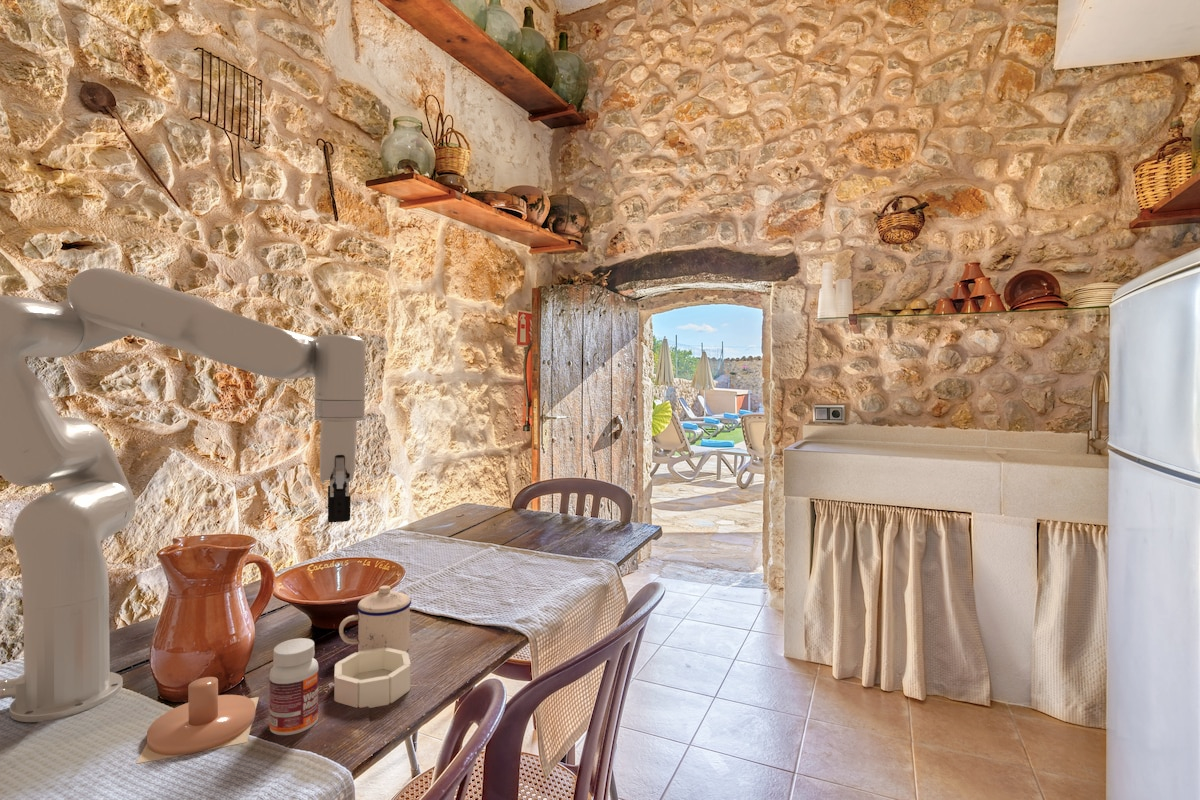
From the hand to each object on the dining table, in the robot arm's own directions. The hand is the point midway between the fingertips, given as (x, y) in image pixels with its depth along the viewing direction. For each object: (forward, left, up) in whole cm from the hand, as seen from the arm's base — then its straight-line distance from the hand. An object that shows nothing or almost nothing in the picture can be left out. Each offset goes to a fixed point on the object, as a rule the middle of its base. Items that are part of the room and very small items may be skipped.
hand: (338, 514), depth 98 cm
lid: (-17, -11, -26) cm, 33 cm away
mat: (-17, -11, -26) cm, 33 cm away
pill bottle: (-5, -14, -27) cm, 31 cm away
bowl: (+5, -8, -26) cm, 28 cm away
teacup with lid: (+6, +5, -27) cm, 28 cm away
